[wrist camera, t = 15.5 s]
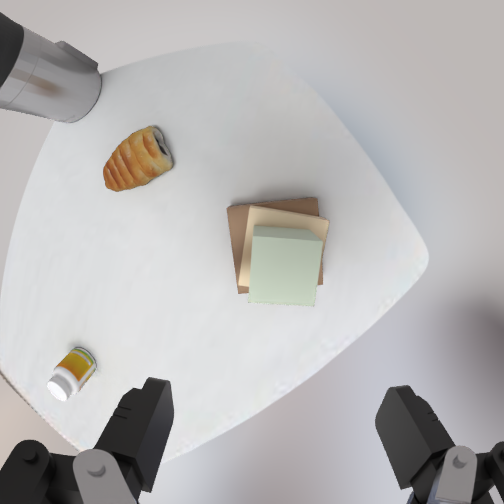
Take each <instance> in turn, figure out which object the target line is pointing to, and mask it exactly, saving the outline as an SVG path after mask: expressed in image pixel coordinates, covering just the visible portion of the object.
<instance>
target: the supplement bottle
mask: <svg viewBox="0 0 504 504" xmlns="http://www.w3.org/2000/svg"><path fill="white" fill-rule="evenodd" d="M95 369H96V363H95V361H94V359H93V357H92V356H91V355H90V354H89V353H88V352H87V351H86V350H84V349H82V348H74V349H73V350H72V351H71V352H70V353H69V354H68V355H67V356H66V357H65V358H64V359H63V360H62V361H61V362H60V363H59V364H58V365H57V366H56V367H55V368H54V370H53V372H52V378H51V379H50V380H49V381H48V383H47V386H48V389H49V391H50V392H51V393H52V395H53V396H54V397H56V398H57V399H58V400H60V401H66V400H67V399H68V398H69V397H70V395H76V394H77V393H78V392H79V391H80V390H81V388H82V387H83V386H84V384H85V383H86V382H87V381H88V379H89V378H90V377H91V375H92V374H93V373H94V371H95Z"/></svg>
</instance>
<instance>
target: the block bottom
mask: <svg viewBox="0 0 504 504" xmlns="http://www.w3.org/2000/svg"><path fill="white" fill-rule="evenodd" d="M250 205H253V206H259V207H266V208H272V209H278V210H284V211H290V212H296V213H302V214H308V215H313V216H319V212H318V201H317V198H313V197H312V198H301V199H291V200H281V201H271V202H262V203H253V204H245V205H236V206H229V207H228V208H227V214H228V222H229V229H230V237H231V244H232V251H233V259H234V266H235V273H236V280H237V287H238V294H242V293H249V287H246V286H240V285H238V283H239V276H240V269H241V262H242V255H243V249H244V242H245V235H246V229H247V222H248V215H249V209H250ZM322 284H323V272H322V261H321V266H320V270H319V277H318V284H317V285H322Z"/></svg>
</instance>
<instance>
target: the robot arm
mask: <svg viewBox="0 0 504 504" xmlns="http://www.w3.org/2000/svg"><path fill="white" fill-rule="evenodd" d="M97 66H98V63H97V62H95V61H94V60H92V59H91V58H89V57H88V56H86V55H85V54H83V53H82V52H80V51H78V50H77V49H75V48H74V47H72V46H71V45H69V44H68V43H66V42H64V41H60V42H57V43H55V44H54V43H52V42H51V41H49V40H47V39H45V38H44V37H42V36H40V35H38V34H36V33H34V32H32V31H30V30H29V29H27V28H25V27H23V26H21V25H20V24H17V23H15V22H14V21H12V20H11V19H9V18H8V17H6V16H5V15H4V14H2V13H1V12H0V108H2V109H6V110H12V111H17V112H21V113H26V114H31V115H35V116H40V117H44V118H48V119H53V120H55V121H59V122H60V121H61V122H65V123H72V122H75V121H77V120H79V119H81V118H82V117H84V116H85V115H86V114H87V113H88V112H89V111H90V110H91V108H92V107H93V106H94V104H95V102H96V100H97V98H98V96H99V93H100V89H101V77H100V74H99V72H98V70H97ZM173 419H174V407H173V399H172V391H171V384H170V381H168V380H162V379H157V378H151V377H149V378H148V379H147V380H146V382H145V384H144V386H143V388H142V390H141V389H137V388H133V389H131V390H130V391H129V392H127V393H126V394H125V395H123V397H122V399H121V400H120V402H119V404H118V407H117V408H116V409H115V411H114V413H113V416H111V418H110V420H109V422H108V423H107V425H106V427H105V429H104V431H103V432H102V434H101V436H100V438H99V440H98V442H97V443H96V445H95V447H94V448H93V449H89V450H85V451H83V452H81V453H79V454H78V455H77V456H68V455H61V454H54V453H49V451H48V450H47V449H46V447H45V446H44V445H43V444H42V443H40V442H38V441H36V440H24V441H21V442H20V443H18V444H17V445H16V446H15V448H14V449H13V451H12V452H11V454H10V455H9V457H8V459H7V460H6V462H5V464H4V465H3V467H2V468H1V470H0V504H140V503H139V501H138V499H139V496H140V492H141V490H142V491H145V492H149V493H151V491H152V488H153V485H154V481H155V478H156V475H157V472H158V468H159V465H160V462H161V459H162V456H163V452H164V449H165V446H166V443H167V440H168V437H169V434H170V430H171V427H172V424H173ZM375 426H376V429H377V432H378V434H379V437H380V439H381V441H382V444H383V446H384V449H385V451H386V453H387V456H388V458H389V461H390V463H391V466H392V468H393V471H394V473H395V476H396V478H397V481H398V484H399V486H400V489H401V490H402V489H405V488H409V487H413V491H412V493H411V494H410V497H409V499H408V501H407V504H494V502H493V500H492V498H491V496H490V493H489V490H490V489H491V488H492V487H493V486H494V485H495V486H496V488H497V490H498V492H499V494H500V496H501V498H502V500H503V502H504V442H499V443H497V444H496V445H495V446H494V447H493V449H492V450H491V451H490V452H487V453H479V454H474V452H473V451H472V450H471V449H470V448H468V447H465V446H456V445H455V444H454V442H453V441H452V439H451V437H450V436H449V434H448V433H447V431H446V430H445V428H444V426H443V425H442V423H441V422H440V420H439V421H438V417H437V416H436V414H435V413H434V411H433V410H432V408H431V407H430V405H429V404H428V403H427V402H426V401H425V400H424V399H422V398H421V397H420V396H416V395H415V393H414V392H413V390H412V389H411V387H410V386H408V385H404V386H397V387H390V388H389V389H388V390H387V393H386V395H385V397H384V399H383V402H382V404H381V406H380V408H379V410H378V413H377V415H376V419H375Z"/></svg>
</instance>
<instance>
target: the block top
mask: <svg viewBox="0 0 504 504" xmlns="http://www.w3.org/2000/svg"><path fill="white" fill-rule="evenodd" d="M254 225H257V226H270V227H284V228H296V229H308V230H311V231H312V232H313V233H314V234H315V235H316V236H317V237H319V238H320V239H321V240H322V241H323V246H322V254H321V261H322V256H323V252H324V247H325V242H326V237H327V232H328V226H329V220H327V219H325V218H323V217H319V216H313V215H308V214H302V213H296V212H290V211H284V210H278V209H272V208H266V207H259V206H253V205H250V209H249V215H248V222H247V229H246V235H245V242H244V249H243V255H242V262H241V269H240V276H239V283H238V285H240V286H246V287H249V282H250V268H251V253H252V239H253V228H254ZM320 266H321V262H320ZM319 270H320V269H319Z"/></svg>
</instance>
